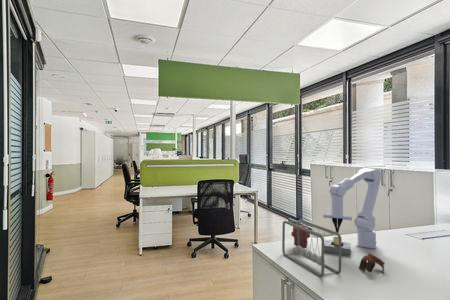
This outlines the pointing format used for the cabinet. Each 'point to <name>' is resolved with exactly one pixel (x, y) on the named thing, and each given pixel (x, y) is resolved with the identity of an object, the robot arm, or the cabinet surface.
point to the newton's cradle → (308, 253)
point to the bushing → (335, 241)
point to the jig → (337, 248)
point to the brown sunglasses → (370, 263)
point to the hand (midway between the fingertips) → (337, 232)
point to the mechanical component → (303, 237)
